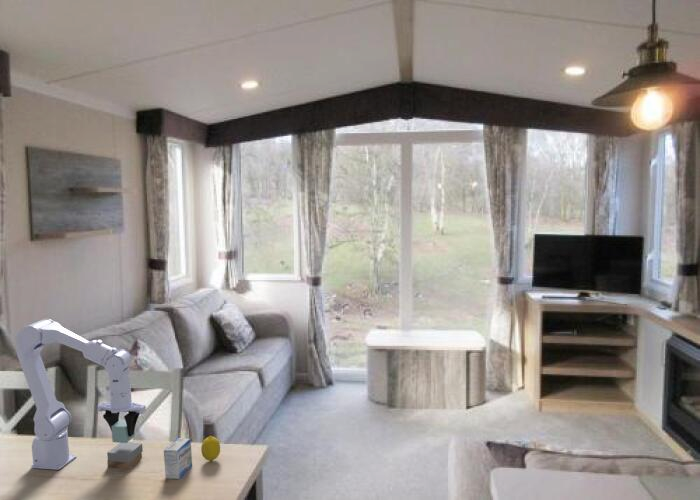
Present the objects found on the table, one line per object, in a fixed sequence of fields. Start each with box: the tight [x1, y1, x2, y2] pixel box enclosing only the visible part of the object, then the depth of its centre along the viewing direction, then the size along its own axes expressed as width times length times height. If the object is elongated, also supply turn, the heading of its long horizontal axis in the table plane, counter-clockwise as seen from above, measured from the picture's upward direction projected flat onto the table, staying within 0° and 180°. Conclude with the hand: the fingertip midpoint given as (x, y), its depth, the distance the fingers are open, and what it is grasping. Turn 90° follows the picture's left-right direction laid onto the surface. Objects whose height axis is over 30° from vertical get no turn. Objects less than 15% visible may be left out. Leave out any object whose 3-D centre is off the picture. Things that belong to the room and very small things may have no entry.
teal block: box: [111, 419, 135, 444], centre depth 159 cm, size 4×4×5 cm
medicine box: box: [163, 437, 193, 480], centre depth 154 cm, size 8×4×9 cm, turn 168°
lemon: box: [200, 435, 221, 462], centre depth 160 cm, size 6×6×8 cm
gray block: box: [106, 441, 144, 463], centre depth 160 cm, size 7×7×2 cm
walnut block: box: [107, 451, 143, 470], centre depth 160 cm, size 7×7×2 cm
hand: (123, 434), depth 159 cm, fingers closed on teal block, 4 cm apart
